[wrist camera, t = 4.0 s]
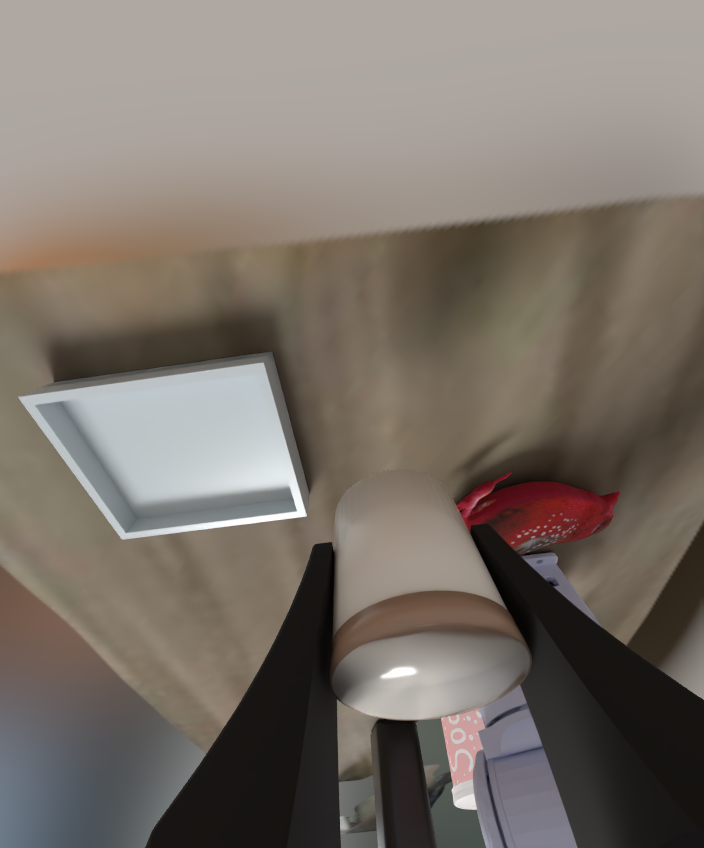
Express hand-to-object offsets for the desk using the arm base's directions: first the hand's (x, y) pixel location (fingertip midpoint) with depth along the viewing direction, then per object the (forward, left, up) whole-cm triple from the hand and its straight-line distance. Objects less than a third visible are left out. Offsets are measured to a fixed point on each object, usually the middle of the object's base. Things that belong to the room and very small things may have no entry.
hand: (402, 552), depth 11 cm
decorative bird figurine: (-4, +5, -7) cm, 9 cm away
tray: (+11, -1, -8) cm, 14 cm away
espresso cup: (0, 0, -2) cm, 2 cm away
